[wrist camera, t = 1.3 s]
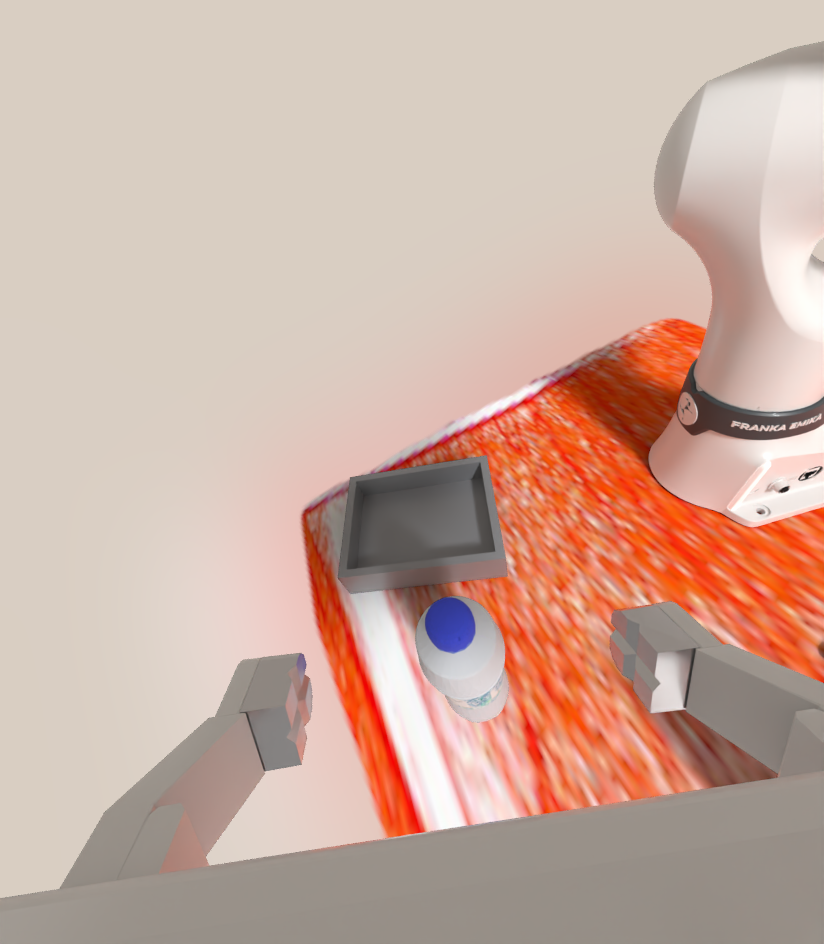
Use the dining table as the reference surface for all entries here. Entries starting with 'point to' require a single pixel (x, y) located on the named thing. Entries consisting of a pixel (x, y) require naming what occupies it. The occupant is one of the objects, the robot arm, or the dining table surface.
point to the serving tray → (421, 527)
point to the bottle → (464, 657)
